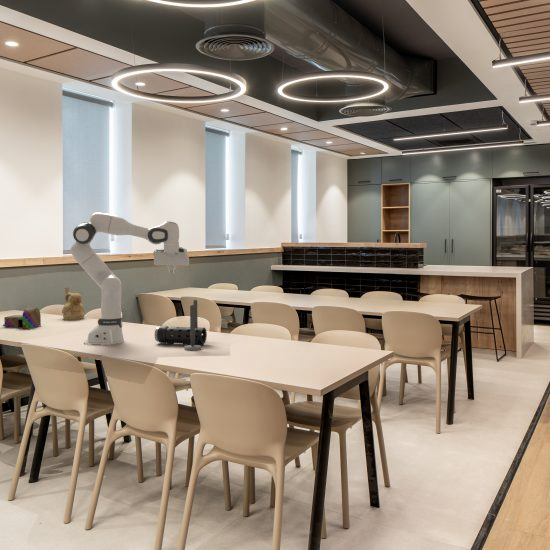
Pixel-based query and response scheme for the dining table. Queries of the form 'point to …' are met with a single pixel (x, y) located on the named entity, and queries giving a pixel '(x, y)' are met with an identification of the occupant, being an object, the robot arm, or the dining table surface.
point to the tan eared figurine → (72, 306)
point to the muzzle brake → (179, 335)
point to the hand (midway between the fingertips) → (171, 273)
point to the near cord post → (192, 332)
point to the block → (24, 319)
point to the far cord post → (195, 313)
